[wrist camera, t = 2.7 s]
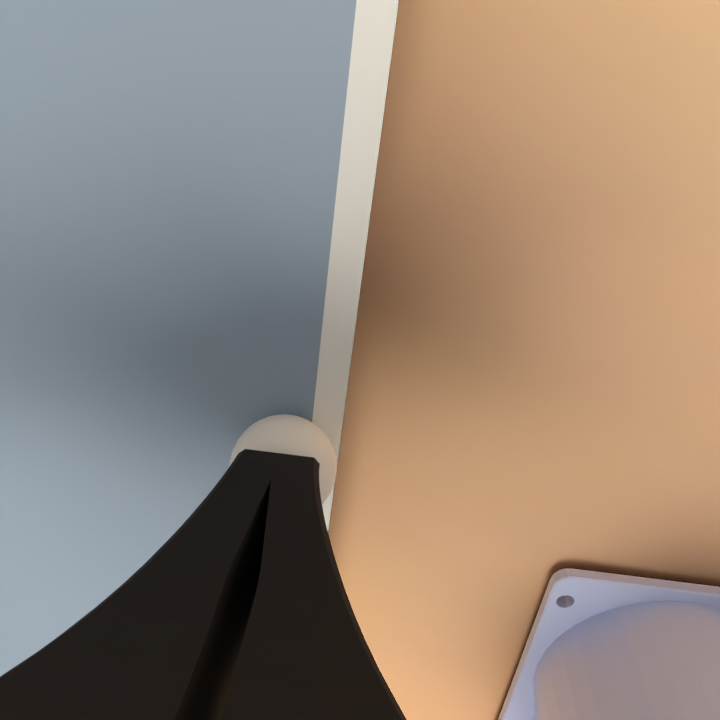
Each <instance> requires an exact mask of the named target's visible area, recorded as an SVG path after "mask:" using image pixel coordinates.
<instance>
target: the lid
mask: <svg viewBox="0 0 720 720" xmlns="http://www.w3.org/2000/svg"><path fill="white" fill-rule="evenodd" d="M398 2H399V0H0V676H2V675H3V674H5V673H6V672H8V671H9V670H11V669H12V668H14V667H15V666H17V665H18V664H20V663H21V662H23V661H24V660H26V659H27V658H29V657H30V656H32V655H33V654H35V653H36V652H38V651H39V650H40V649H42V648H43V647H45V646H46V645H47V644H49V643H50V642H51V641H53V640H54V639H55V638H57V637H58V636H59V635H61V634H62V633H63V632H65V631H66V630H67V629H69V628H70V627H71V626H72V625H74V624H75V623H76V622H77V621H79V620H80V619H81V618H83V617H84V616H85V615H86V614H88V613H89V612H90V611H91V610H93V609H94V608H95V607H96V606H98V605H99V604H100V603H101V602H102V601H104V600H105V599H106V598H107V597H108V596H109V595H111V594H112V593H113V592H114V591H115V590H116V589H118V588H119V587H120V586H121V585H122V584H123V583H124V582H125V581H127V580H128V579H129V578H130V577H131V576H132V575H133V574H134V573H135V572H136V571H137V570H138V569H140V568H141V567H142V566H143V565H144V564H145V563H146V562H147V561H148V560H149V559H150V558H151V557H152V556H153V555H154V554H155V553H156V552H157V551H158V550H159V549H160V548H161V547H162V546H163V545H164V543H165V542H166V541H167V540H168V539H169V538H170V537H171V536H172V535H173V534H174V533H175V532H176V531H177V530H178V529H179V528H180V527H181V526H182V525H183V523H184V522H185V521H186V520H187V519H188V518H189V517H190V515H191V514H192V513H193V512H194V511H195V510H196V508H197V507H198V506H199V505H200V504H201V503H202V502H203V500H204V499H205V498H206V497H207V496H208V494H209V493H210V492H211V491H212V489H213V488H214V487H215V485H216V484H217V483H218V482H219V480H220V479H221V478H222V476H223V475H224V474H225V472H226V471H227V470H228V468H229V467H230V465H231V464H232V462H233V461H234V459H235V458H236V456H237V455H238V453H240V452H241V451H243V450H244V449H250V450H258V451H266V452H274V453H282V454H290V455H298V456H306V457H314V458H315V459H316V460H317V461H318V462H319V463H320V467H319V486H320V495H321V501H322V508H323V513H324V518H325V523H326V527H327V531H328V529H329V521H330V514H331V506H332V499H333V491H334V484H335V477H336V469H337V461H338V454H339V446H340V439H341V431H342V424H343V416H344V409H345V401H346V393H347V386H348V378H349V371H350V363H351V356H352V348H353V341H354V333H355V326H356V318H357V311H358V303H359V296H360V288H361V281H362V273H363V266H364V258H365V250H366V243H367V235H368V228H369V220H370V213H371V205H372V198H373V190H374V183H375V175H376V168H377V160H378V153H379V145H380V138H381V130H382V123H383V115H384V107H385V100H386V92H387V85H388V77H389V70H390V62H391V55H392V47H393V40H394V32H395V25H396V17H397V10H398Z"/></svg>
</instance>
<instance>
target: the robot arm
mask: <svg viewBox="0 0 720 720" xmlns="http://www.w3.org/2000/svg"><path fill="white" fill-rule="evenodd" d="M319 467H320V463H319V462H318V461H317V460H316V459H315V458H314V457H306V456H298V455H290V454H282V453H274V452H266V451H258V450H250V449H244V450H243V451H241V452H240V453H238V455H237V456H236V458H235V459H234V461H233V462H232V464H231V465H230V467H229V468H228V470H227V471H226V472H225V474H224V475H223V476H222V478H221V479H220V480H219V482H218V483H217V484H216V485H215V487H214V488H213V489H212V491H211V492H210V493H209V494H208V496H207V497H206V498H205V499H204V500H203V502H202V503H201V504H200V505H199V506H198V507H197V508H196V510H195V511H194V512H193V513H192V514H191V515H190V517H189V518H188V519H187V520H186V521H185V522H184V523H183V525H182V526H181V527H180V528H179V529H178V530H177V531H176V532H175V533H174V534H173V535H172V536H171V537H170V538H169V539H168V540H167V541H166V542H165V543H164V545H163V546H162V547H161V548H160V549H159V550H158V551H157V552H156V553H155V554H154V555H153V556H152V557H151V558H150V559H149V560H148V561H147V562H146V563H145V564H144V565H143V566H142V567H141V568H140V569H138V570H137V571H136V572H135V573H134V574H133V575H132V576H131V577H130V578H129V579H128V580H127V581H125V582H124V583H123V584H122V585H121V586H120V587H119V588H118V589H116V590H115V591H114V592H113V593H112V594H111V595H109V596H108V597H107V598H106V599H105V600H104V601H102V602H101V603H100V604H99V605H98V606H96V607H95V608H94V609H93V610H91V611H90V612H89V613H88V614H86V615H85V616H84V617H83V618H81V619H80V620H79V621H77V622H76V623H75V624H74V625H72V626H71V627H70V628H69V629H67V630H66V631H65V632H63V633H62V634H61V635H59V636H58V637H57V638H55V639H54V640H53V641H51V642H50V643H49V644H47V645H46V646H45V647H43V648H42V649H40V650H39V651H38V652H36V653H35V654H33V655H32V656H30V657H29V658H27V659H26V660H24V661H23V662H21V663H20V664H18V665H17V666H15V667H14V668H12V669H11V670H9V671H8V672H6V673H5V674H3V675H2V676H0V720H406V718H405V716H404V715H403V713H402V711H401V709H400V707H399V705H398V704H397V702H396V700H395V698H394V696H393V694H392V693H391V691H390V689H389V687H388V685H387V683H386V682H385V680H384V678H383V676H382V674H381V672H380V670H379V668H378V666H377V664H376V662H375V660H374V658H373V656H372V654H371V652H370V649H369V647H368V645H367V643H366V641H365V639H364V636H363V634H362V632H361V629H360V627H359V625H358V622H357V620H356V618H355V615H354V613H353V610H352V608H351V605H350V602H349V600H348V597H347V594H346V591H345V589H344V586H343V583H342V580H341V577H340V574H339V571H338V568H337V564H336V561H335V558H334V554H333V551H332V547H331V543H330V539H329V535H328V531H327V527H326V523H325V518H324V513H323V508H322V501H321V495H320V486H319ZM564 595H568V596H565V597H561V596H564ZM498 720H720V587H718V586H710V585H702V584H693V583H685V582H677V581H669V580H661V579H653V578H645V577H637V576H629V575H621V574H613V573H605V572H596V571H588V570H580V569H572V568H565V569H562V570H559V571H557V572H556V573H554V574H553V575H552V577H551V578H550V581H549V584H548V587H547V589H546V592H545V595H544V597H543V600H542V603H541V605H540V608H539V611H538V613H537V616H536V619H535V621H534V624H533V627H532V630H531V632H530V635H529V638H528V640H527V643H526V646H525V648H524V651H523V654H522V656H521V659H520V662H519V665H518V667H517V670H516V673H515V675H514V678H513V681H512V683H511V686H510V689H509V691H508V694H507V697H506V700H505V702H504V705H503V708H502V710H501V713H500V716H499V718H498Z"/></svg>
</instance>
